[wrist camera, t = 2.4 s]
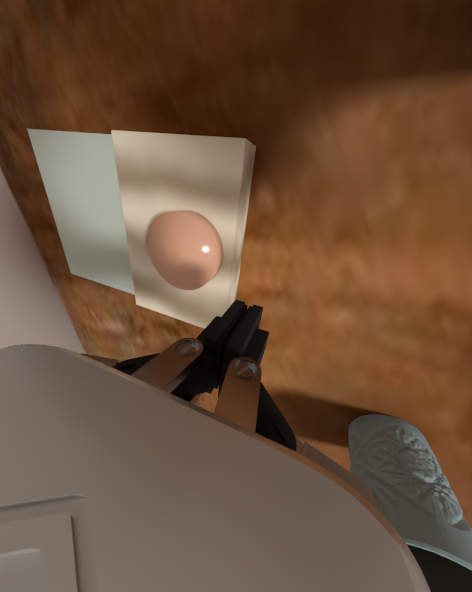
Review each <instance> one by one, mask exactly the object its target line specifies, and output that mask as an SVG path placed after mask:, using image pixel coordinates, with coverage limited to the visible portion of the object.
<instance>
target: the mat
mask: <svg viewBox="0 0 472 592" xmlns="http://www.w3.org/2000/svg"><path fill="white" fill-rule="evenodd" d="M27 130H28V134H29V137H30V140H31V143H32V147H33V150H34V153H35V157H36V160H37V163H38V167H39V170H40V173H41V176H42V180H43V183H44V186H45V190H46V193H47V196H48V200H49V203H50V206H51V209H52V213H53V216H54V219H55V223H56V226H57V229H58V232H59V236H60V239H61V242H62V246H63V249H64V252H65V256H66V259H67V262H68V265H69V269H70V272H71V274H74V275H77V276H80V277H83V278H86V279H89V280H92V281H95V282H98V283H101V284H104V285H107V286H110V287H113V288H116V289H119V290H122V291H125V292H128V293H131V294H134V295H135V291H134V284H133V277H132V271H131V264H130V257H129V250H128V243H127V236H126V229H125V222H124V215H123V208H122V202H121V195H120V188H119V181H118V174H117V167H116V160H115V153H114V146H113V139H112V135H111V134H96V133H82V132H67V131H53V130H38V129H27Z"/></svg>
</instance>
